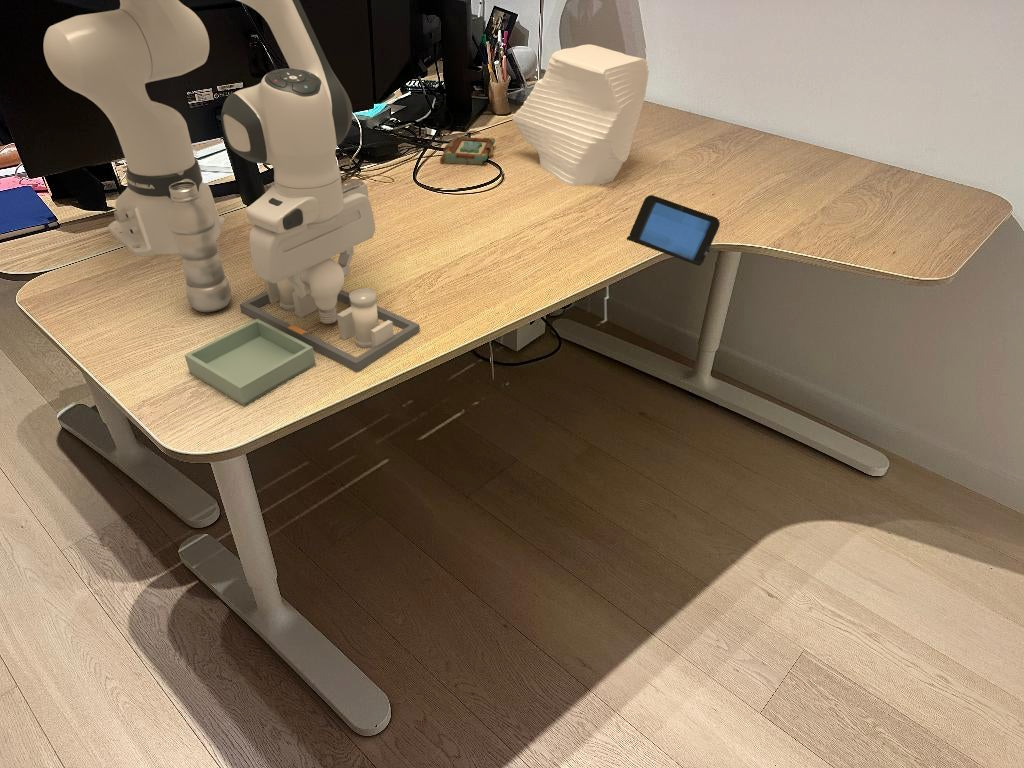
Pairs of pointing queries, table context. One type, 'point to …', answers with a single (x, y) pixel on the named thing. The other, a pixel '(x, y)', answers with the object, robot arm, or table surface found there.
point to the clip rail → (303, 306)
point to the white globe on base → (286, 295)
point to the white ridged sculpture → (584, 113)
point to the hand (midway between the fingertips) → (323, 284)
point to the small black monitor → (674, 229)
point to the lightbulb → (325, 287)
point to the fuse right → (364, 315)
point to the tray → (250, 361)
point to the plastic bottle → (198, 248)
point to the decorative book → (467, 150)
